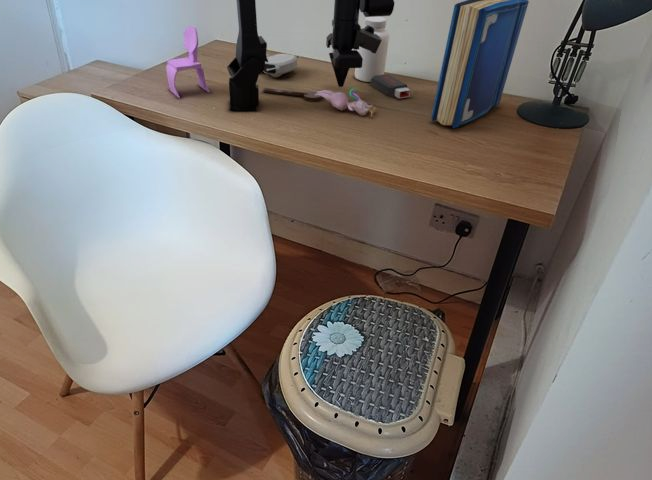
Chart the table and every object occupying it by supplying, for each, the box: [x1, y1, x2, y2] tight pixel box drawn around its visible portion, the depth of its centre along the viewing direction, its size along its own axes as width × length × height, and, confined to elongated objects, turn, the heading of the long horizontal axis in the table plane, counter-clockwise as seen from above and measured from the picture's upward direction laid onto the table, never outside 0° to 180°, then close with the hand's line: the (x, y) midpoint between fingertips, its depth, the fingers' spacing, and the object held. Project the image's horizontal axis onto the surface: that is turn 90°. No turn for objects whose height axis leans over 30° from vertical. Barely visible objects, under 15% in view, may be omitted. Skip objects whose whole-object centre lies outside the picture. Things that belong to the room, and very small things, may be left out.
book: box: [430, 0, 529, 129], centre depth 117 cm, size 22×7×25 cm, turn 134°
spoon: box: [262, 87, 322, 102], centre depth 133 cm, size 15×4×1 cm, turn 73°
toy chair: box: [165, 25, 210, 99], centre depth 129 cm, size 8×9×15 cm
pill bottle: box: [354, 16, 390, 83], centre depth 139 cm, size 8×8×15 cm
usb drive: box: [370, 73, 411, 100], centre depth 136 cm, size 5×12×3 cm, turn 24°
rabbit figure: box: [314, 87, 377, 117], centre depth 124 cm, size 6×6×15 cm
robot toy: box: [262, 53, 303, 78], centre depth 146 cm, size 12×4×15 cm
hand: (340, 86), depth 130 cm, fingers closed
